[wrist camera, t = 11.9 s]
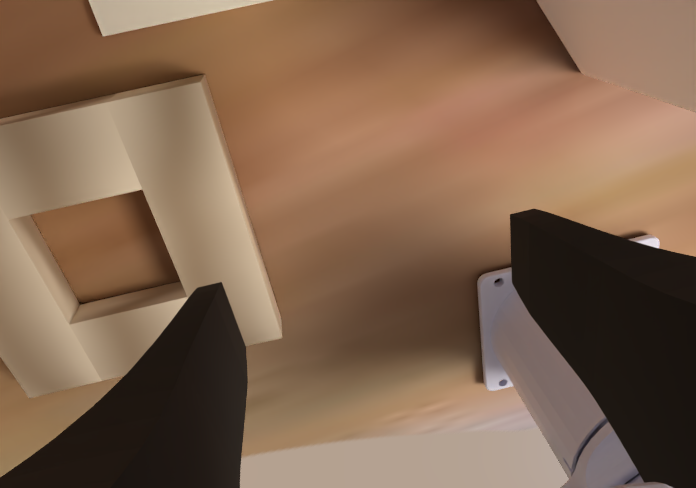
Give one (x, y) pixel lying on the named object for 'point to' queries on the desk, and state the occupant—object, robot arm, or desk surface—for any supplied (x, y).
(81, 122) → the pocket board
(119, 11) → the mat
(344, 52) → the desk surface
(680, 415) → the robot arm
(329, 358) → the desk surface
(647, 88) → the gable box
